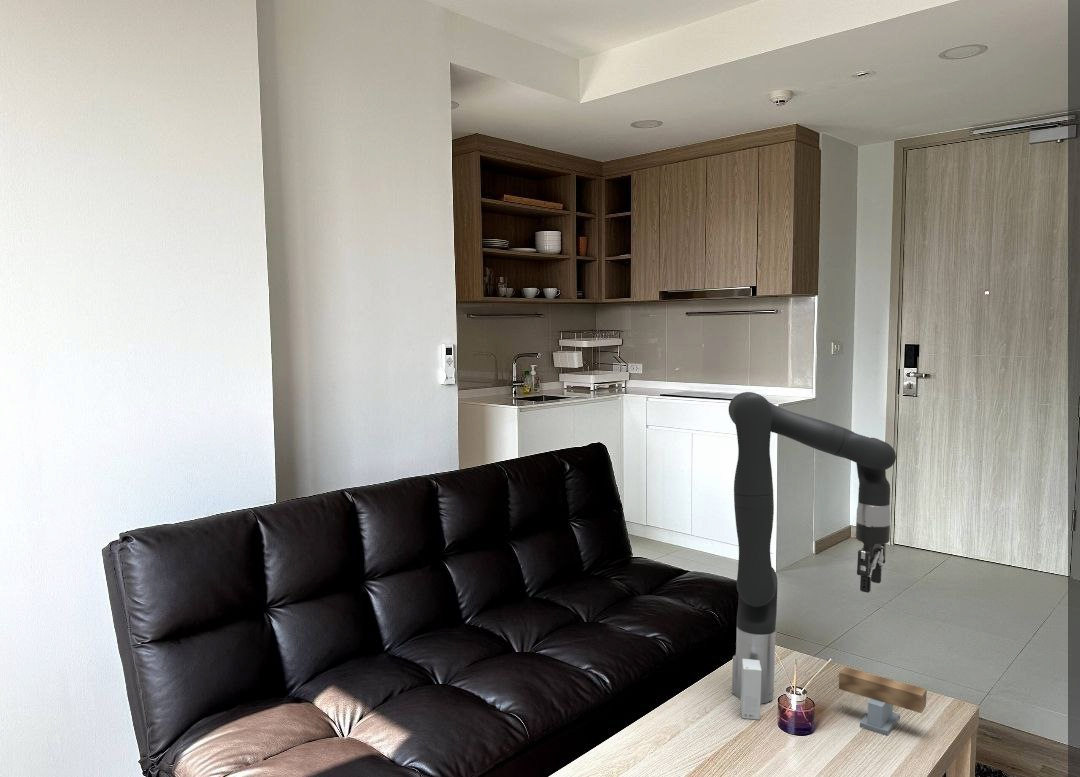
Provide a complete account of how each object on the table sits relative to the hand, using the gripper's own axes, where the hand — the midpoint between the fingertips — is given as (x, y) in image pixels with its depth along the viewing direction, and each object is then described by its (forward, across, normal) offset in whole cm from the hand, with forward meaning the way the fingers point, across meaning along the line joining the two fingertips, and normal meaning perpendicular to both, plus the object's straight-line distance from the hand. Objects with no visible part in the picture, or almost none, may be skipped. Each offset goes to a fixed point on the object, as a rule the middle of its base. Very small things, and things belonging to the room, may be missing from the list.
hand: (870, 587), depth 188 cm
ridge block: (+28, +10, +6) cm, 30 cm away
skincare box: (+28, +25, -19) cm, 42 cm away
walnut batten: (+22, +10, +6) cm, 25 cm away
